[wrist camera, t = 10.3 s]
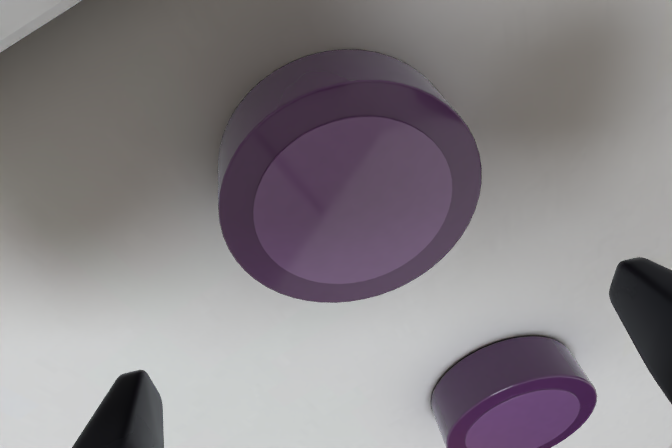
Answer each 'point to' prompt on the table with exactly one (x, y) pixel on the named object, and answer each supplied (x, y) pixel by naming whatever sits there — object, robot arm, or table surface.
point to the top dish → (344, 177)
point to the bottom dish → (513, 396)
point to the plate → (27, 17)
